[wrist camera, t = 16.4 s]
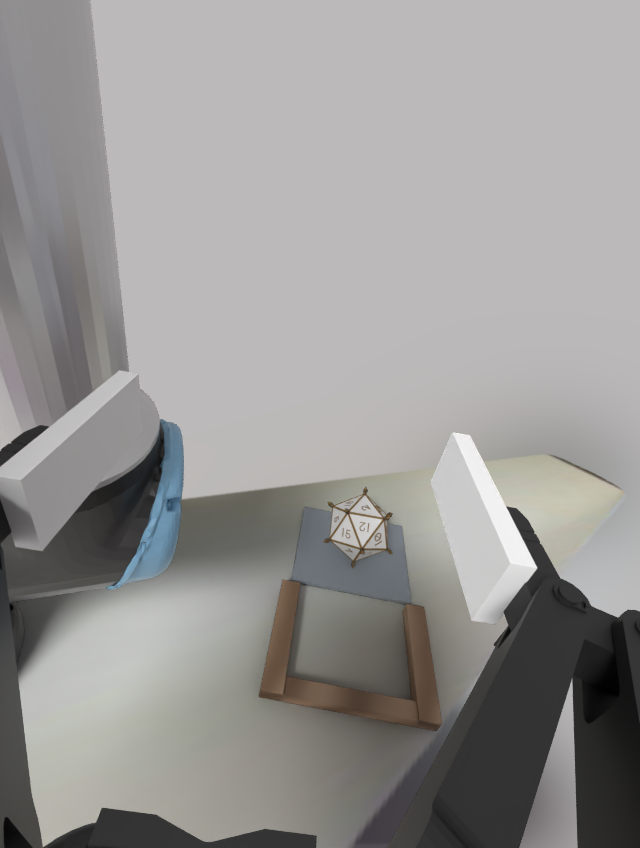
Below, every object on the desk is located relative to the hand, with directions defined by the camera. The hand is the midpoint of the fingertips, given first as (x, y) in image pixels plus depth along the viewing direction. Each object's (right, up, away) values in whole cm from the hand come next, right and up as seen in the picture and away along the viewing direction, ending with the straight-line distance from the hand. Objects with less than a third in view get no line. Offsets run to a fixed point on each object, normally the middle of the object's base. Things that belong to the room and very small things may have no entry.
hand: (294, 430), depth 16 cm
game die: (+5, -16, +33) cm, 37 cm away
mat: (+5, -16, +33) cm, 37 cm away
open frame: (+4, -23, +22) cm, 32 cm away
